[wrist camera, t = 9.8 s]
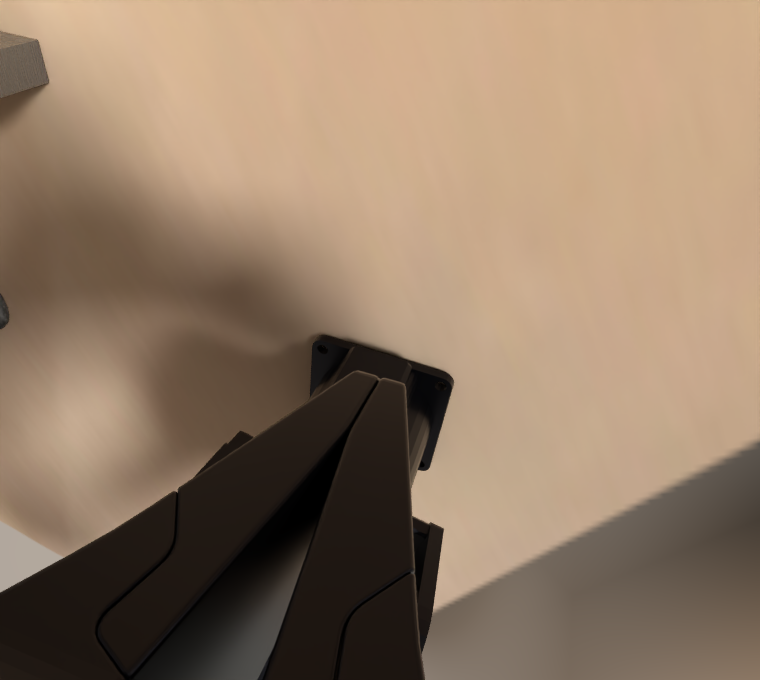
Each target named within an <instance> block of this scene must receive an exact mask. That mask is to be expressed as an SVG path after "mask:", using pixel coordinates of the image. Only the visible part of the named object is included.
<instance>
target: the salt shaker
mask: <svg viewBox="0 0 760 680" xmlns="http://www.w3.org/2000/svg"><path fill="white" fill-rule="evenodd" d="M8 320H9V313H8V308H7V306H6V303H5V301H4V299H3V297H2V296H1V294H0V329H2V328H4V327H5V326H6V325H7V323H8Z"/></svg>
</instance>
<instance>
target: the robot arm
mask: <svg viewBox="0 0 760 680" xmlns="http://www.w3.org/2000/svg"><path fill="white" fill-rule="evenodd" d="M322 345H324V346H325V347H326V348H324V347H323V346H322ZM438 382H442V383H444V384H445V385H441V384H439V383H438ZM453 385H454V380H453V378H452V377H451V376H450V375H449V374H447V373H445V372H442V371H439V370H436V369H432V368H429V367H426V366H423V365H419V364H416V363H413V362H410V361H407V360H403V359H400V358H397V357H394V356H390V355H387V354H384V353H381V352H377V351H374V350H371V349H368V348H365V347H361V346H358V345H355V344H352V343H348V342H345V341H342V340H339V339H335V338H332V337H329V336H325V335H321V336H319V337H317V339H316V340H315V342H314V343H313V346H312V365H311V386H310V399H309V401H308V402H307V403H305V404H304V405H302V406H301V407H299V408H298V409H296V410H295V411H293V412H292V413H290V414H289V415H287V416H286V417H284V418H283V419H281V420H280V421H278V422H277V423H275V424H274V425H272V426H271V427H269V428H268V429H266V430H265V431H263V432H262V433H260V434H259V435H257V436H256V437H254V438H253V436H251V435H249V434H247V433H245V432H243V431H240V432H239V433H238V434H237V435H236V436H235V437H234V438H233V439H232V440H231V441H230V442H229V444H227V443H225V444H224V445H223V446H222V447H221V448H220V449H219V451H218V452H217V453H216V454H215V455H214V456H213V457H212V458H211V459H210V460H209V461H208V463H207V464H206V465H205V466H204V467H203V468H202V469H201V470H200V471H199V472H198V473H197V474H196V476H195V477H194V478H193V479H191V480H190V481H188V482H187V483H185V484H184V485H182V486H181V487H179V488H178V493H177V492H176V491H173V492H171V493H170V494H168V495H167V496H165V497H164V498H162V499H161V500H159V501H158V502H156V503H155V504H153V505H152V506H150V507H149V508H147V509H145V510H144V511H142V512H141V513H139V514H138V515H136V516H134V517H133V518H131V519H130V520H128V521H126V522H125V523H123V524H122V525H120V526H119V527H117V528H115V529H114V530H112V531H110V532H109V533H107V534H105V535H103V536H102V537H100V538H98V539H96V540H95V541H93V542H91V543H89V544H88V545H86V546H84V547H82V548H81V549H79V550H77V551H75V552H74V553H72V554H70V555H68V556H66V557H65V558H63V559H61V560H59V561H57V562H55V563H54V564H52V565H50V566H48V567H46V568H44V569H43V570H41V571H39V572H37V573H35V574H33V575H32V576H30V577H28V578H26V579H24V580H23V581H21V582H19V583H17V584H15V585H13V586H11V587H10V588H8V589H6V590H4V591H3V592H0V680H425V674H424V668H423V661H422V651H423V648H424V645H425V641H426V638H427V634H428V630H429V627H430V622H431V617H432V612H433V605H434V597H435V590H436V582H437V575H438V568H439V560H440V553H441V545H442V538H443V531H444V528H442V527H440V526H437V525H435V524H433V523H431V522H430V523H429V524H428V523H426V522H424V521H422V520H420V519H418V518H416V517H413V516H412V502H411V488H412V485H413V482H414V479H415V476H416V473H417V470H421V471H426V470H428V469H429V468H430V465H431V462H432V458H433V455H434V451H435V448H436V444H437V441H438V437H439V434H440V430H441V427H442V423H443V420H444V417H445V413H446V410H447V406H448V403H449V399H450V396H451V392H452V389H453Z"/></svg>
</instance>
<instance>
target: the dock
mask: <svg viewBox="0 0 760 680" xmlns="http://www.w3.org/2000/svg"><path fill="white" fill-rule="evenodd" d="M46 83H49V81H48V77H47V74H46V70H45V66H44V62H43V58H42V54H41V51H40V47H39V43H38V40H35V39H31V38H27V37H23V36H18V35H14V34H10V33H6V32H1V31H0V98H2V97H5V96H8V95H12V94H15V93H18V92H21V91H24V90H27V89H30V88H33V87H37V86H40V85H43V84H46Z"/></svg>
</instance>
